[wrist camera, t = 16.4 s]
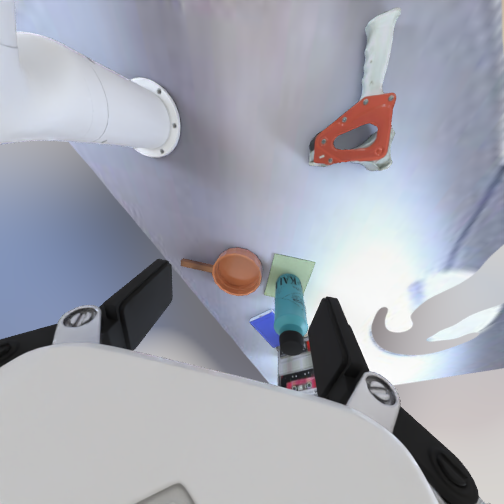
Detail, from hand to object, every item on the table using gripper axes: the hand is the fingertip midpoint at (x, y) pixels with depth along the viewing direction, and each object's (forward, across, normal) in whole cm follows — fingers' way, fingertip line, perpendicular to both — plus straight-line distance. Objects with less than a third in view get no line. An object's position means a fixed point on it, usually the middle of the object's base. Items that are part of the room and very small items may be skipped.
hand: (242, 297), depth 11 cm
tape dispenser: (+32, -12, -16) cm, 38 cm away
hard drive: (+32, -9, +37) cm, 50 cm away
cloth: (+32, -9, +19) cm, 39 cm away
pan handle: (+30, +14, +19) cm, 38 cm away
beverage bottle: (+32, -9, +19) cm, 38 cm away
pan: (+32, +4, +19) cm, 38 cm away
